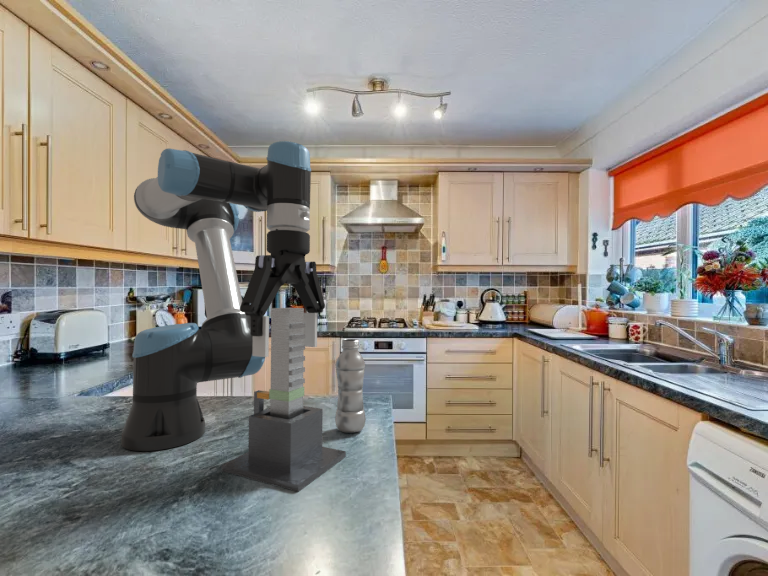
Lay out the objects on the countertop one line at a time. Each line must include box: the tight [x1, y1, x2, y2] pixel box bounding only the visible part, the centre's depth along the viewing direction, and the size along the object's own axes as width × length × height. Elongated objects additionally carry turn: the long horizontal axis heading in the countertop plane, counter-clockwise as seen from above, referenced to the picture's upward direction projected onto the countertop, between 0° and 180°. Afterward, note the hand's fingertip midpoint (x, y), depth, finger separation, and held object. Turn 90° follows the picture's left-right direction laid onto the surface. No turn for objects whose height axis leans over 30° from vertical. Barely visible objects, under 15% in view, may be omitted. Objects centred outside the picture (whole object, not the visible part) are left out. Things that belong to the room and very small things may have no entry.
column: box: [268, 307, 306, 420], centre depth 68 cm, size 5×4×20 cm
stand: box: [221, 390, 347, 492], centre depth 68 cm, size 16×14×12 cm
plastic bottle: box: [334, 338, 366, 434], centre depth 84 cm, size 6×7×20 cm
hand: (287, 351), depth 68 cm, fingers open, 13 cm apart
